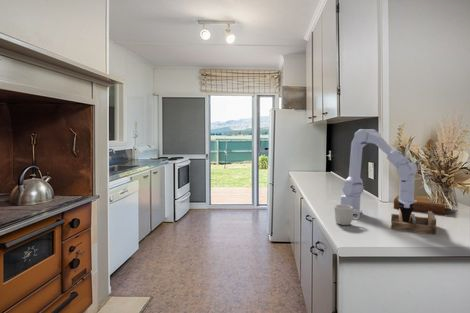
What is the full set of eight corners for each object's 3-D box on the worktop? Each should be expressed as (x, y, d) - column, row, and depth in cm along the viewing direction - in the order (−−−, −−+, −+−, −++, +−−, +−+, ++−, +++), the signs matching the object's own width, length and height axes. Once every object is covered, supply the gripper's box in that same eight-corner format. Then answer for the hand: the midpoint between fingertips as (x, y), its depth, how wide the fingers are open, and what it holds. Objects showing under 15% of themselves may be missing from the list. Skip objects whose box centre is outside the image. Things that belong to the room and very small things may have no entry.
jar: (398, 225, 132) (399, 208, 131) (398, 222, 136) (399, 206, 136) (411, 227, 130) (412, 209, 129) (411, 224, 134) (411, 207, 134)
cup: (358, 222, 138) (359, 205, 137) (360, 228, 130) (360, 209, 130) (334, 220, 141) (334, 204, 141) (333, 225, 134) (334, 208, 133)
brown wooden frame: (391, 228, 129) (391, 215, 128) (391, 219, 142) (391, 207, 142) (435, 234, 122) (436, 220, 121) (431, 224, 135) (431, 211, 134)
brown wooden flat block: (393, 209, 164) (393, 199, 164) (399, 203, 179) (399, 193, 178) (444, 216, 150) (445, 204, 150) (446, 208, 165) (446, 198, 164)
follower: (412, 229, 127) (412, 219, 127) (410, 222, 137) (411, 213, 136) (415, 229, 126) (416, 220, 126) (413, 222, 136) (414, 213, 136)
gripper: (418, 193, 124) (417, 226, 125) (416, 188, 136) (414, 217, 137) (399, 192, 127) (397, 223, 128) (398, 186, 140) (397, 215, 141)
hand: (405, 220), depth 133 cm, fingers closed on jar, 5 cm apart
